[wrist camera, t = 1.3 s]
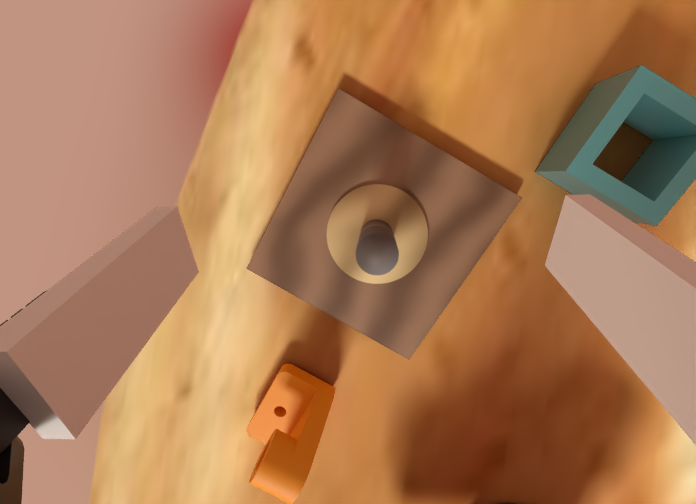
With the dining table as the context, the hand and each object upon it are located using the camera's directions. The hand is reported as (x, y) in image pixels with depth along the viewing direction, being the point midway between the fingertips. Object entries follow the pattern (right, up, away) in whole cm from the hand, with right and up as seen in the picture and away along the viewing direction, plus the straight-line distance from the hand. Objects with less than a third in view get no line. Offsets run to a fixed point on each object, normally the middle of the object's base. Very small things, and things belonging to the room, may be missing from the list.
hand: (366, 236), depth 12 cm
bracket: (-8, -20, +33) cm, 40 cm away
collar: (+26, +10, +23) cm, 36 cm away
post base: (+3, +2, +27) cm, 27 cm away
